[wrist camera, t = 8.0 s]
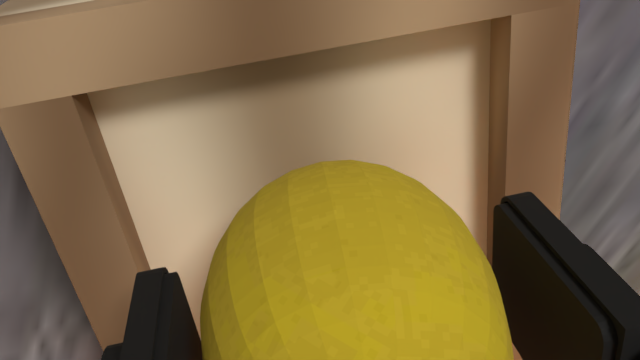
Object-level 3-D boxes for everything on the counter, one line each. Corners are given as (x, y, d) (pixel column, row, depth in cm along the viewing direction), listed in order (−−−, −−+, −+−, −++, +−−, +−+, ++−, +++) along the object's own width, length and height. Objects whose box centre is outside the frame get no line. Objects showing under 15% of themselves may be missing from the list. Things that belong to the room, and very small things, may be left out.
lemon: (458, 122, 14) (679, 369, 6) (405, 306, 16) (524, 636, 9) (226, 92, 13) (183, 341, 6) (206, 291, 15) (159, 645, 8)
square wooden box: (497, -89, 14) (587, -76, 11) (490, 273, 20) (546, 355, 17) (22, -9, 14) (-43, 33, 10) (159, 346, 20) (147, 448, 16)
